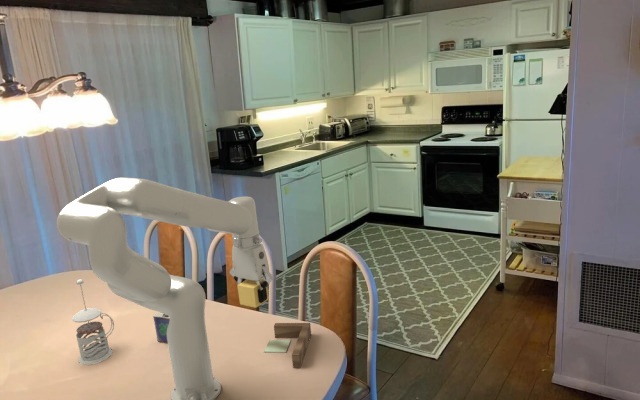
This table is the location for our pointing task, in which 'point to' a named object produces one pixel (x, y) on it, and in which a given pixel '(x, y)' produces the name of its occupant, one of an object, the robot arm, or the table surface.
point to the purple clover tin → (161, 327)
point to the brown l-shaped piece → (290, 331)
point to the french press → (95, 350)
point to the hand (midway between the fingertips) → (254, 298)
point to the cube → (249, 293)
